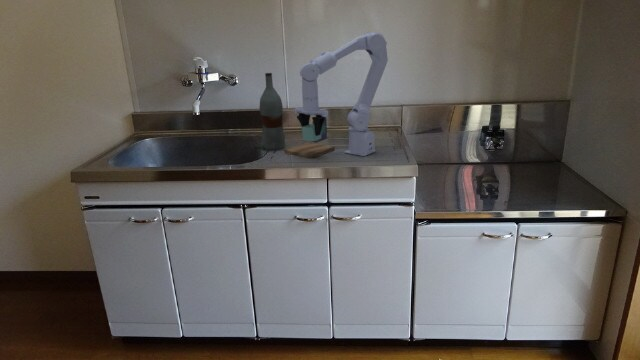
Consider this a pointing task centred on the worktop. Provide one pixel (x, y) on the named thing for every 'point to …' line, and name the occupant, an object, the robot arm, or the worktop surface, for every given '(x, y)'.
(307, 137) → the cube
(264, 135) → the bottle
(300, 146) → the board
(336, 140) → the worktop surface
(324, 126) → the dark blue flat box
